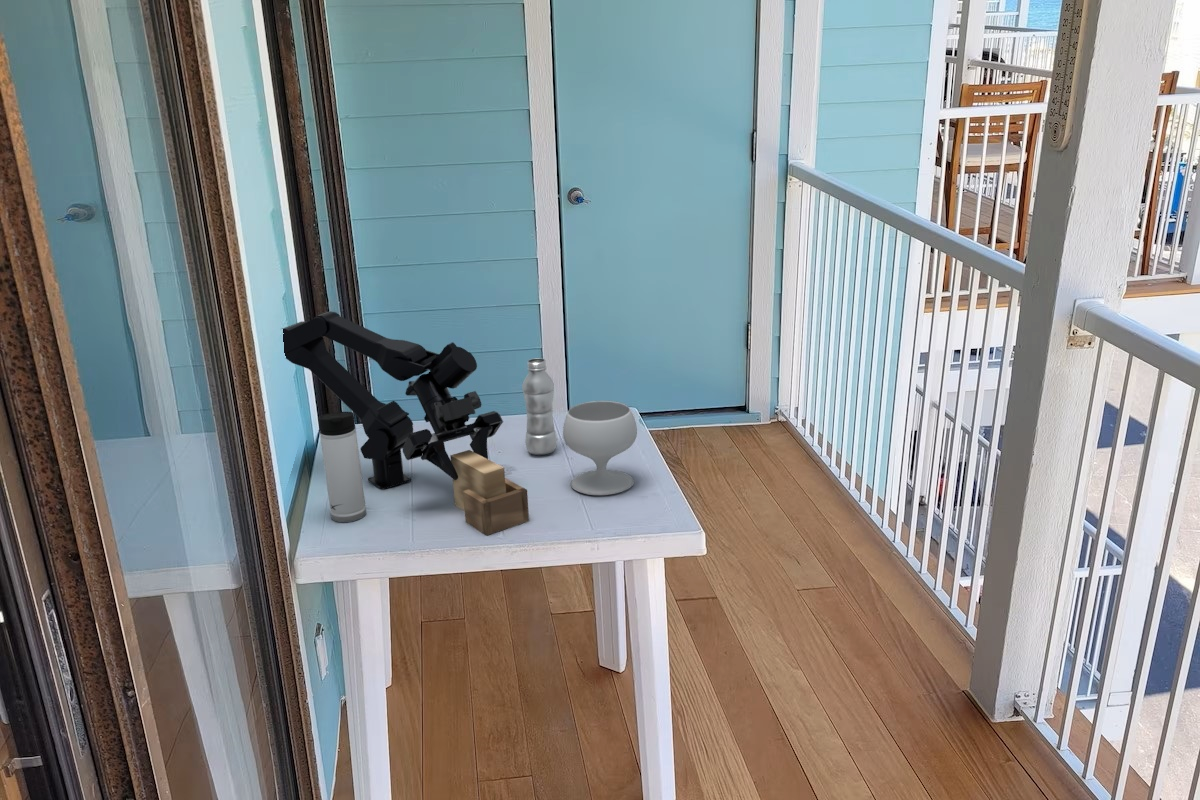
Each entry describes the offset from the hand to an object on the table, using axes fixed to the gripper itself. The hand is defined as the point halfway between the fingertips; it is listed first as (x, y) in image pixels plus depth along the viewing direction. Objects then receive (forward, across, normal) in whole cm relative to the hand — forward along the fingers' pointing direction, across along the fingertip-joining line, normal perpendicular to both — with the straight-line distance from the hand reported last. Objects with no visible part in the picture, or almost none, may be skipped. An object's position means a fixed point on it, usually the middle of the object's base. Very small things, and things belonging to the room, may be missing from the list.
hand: (472, 474), depth 181 cm
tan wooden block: (+6, 0, +3) cm, 7 cm away
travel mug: (-4, -19, +14) cm, 24 cm away
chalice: (+10, +24, 0) cm, 26 cm away
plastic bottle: (-6, +25, +16) cm, 30 cm away
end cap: (+10, 0, -1) cm, 10 cm away
